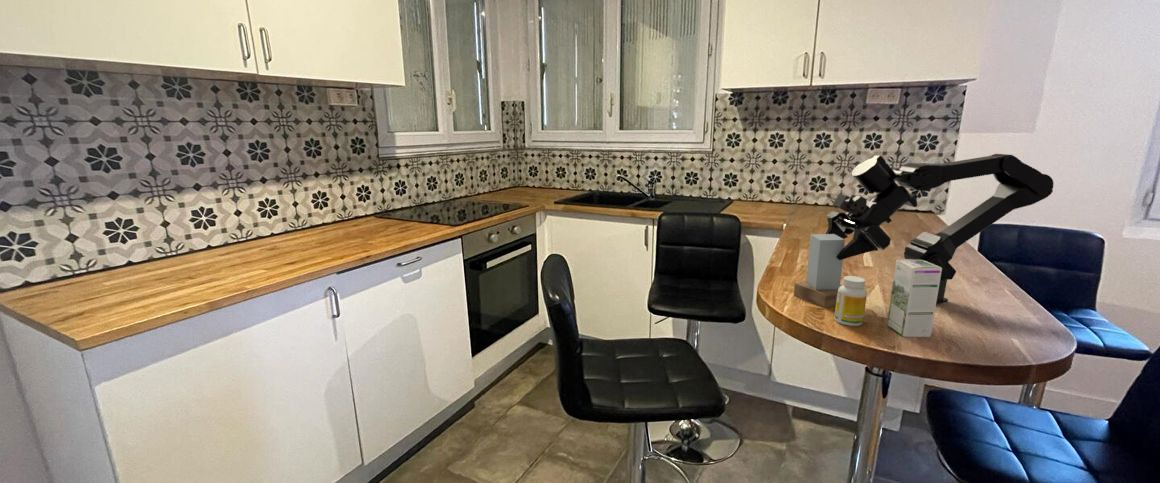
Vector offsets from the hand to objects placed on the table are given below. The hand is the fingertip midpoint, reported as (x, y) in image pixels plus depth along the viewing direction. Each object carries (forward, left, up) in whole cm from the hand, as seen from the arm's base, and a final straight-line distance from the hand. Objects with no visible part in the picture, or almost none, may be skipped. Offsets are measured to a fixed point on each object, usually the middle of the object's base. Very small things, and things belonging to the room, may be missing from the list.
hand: (827, 253), depth 115 cm
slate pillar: (0, 0, -8) cm, 8 cm away
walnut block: (0, 0, -12) cm, 12 cm away
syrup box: (-21, -1, -11) cm, 24 cm away
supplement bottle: (-13, +6, -11) cm, 18 cm away
